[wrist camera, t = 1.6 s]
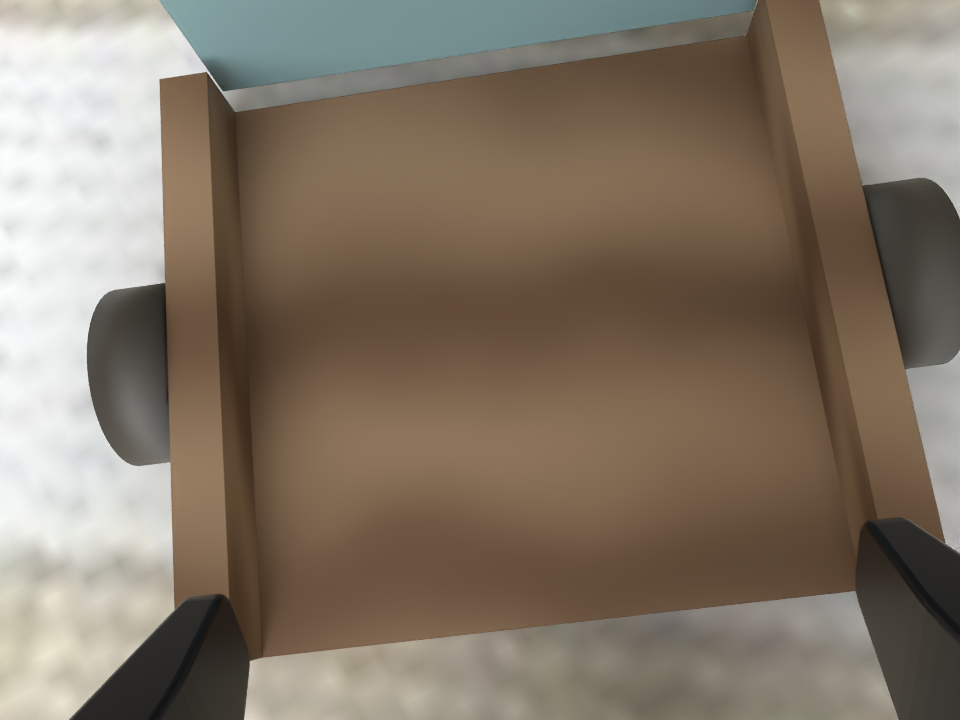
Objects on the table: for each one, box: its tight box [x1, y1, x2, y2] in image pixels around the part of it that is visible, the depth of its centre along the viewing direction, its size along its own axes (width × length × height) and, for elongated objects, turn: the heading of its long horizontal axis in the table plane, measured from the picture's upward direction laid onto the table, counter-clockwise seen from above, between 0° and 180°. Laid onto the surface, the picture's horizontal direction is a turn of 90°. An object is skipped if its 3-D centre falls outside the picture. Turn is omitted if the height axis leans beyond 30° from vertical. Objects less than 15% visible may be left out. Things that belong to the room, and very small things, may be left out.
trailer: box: [87, 0, 960, 661], centre depth 22 cm, size 14×19×4 cm
